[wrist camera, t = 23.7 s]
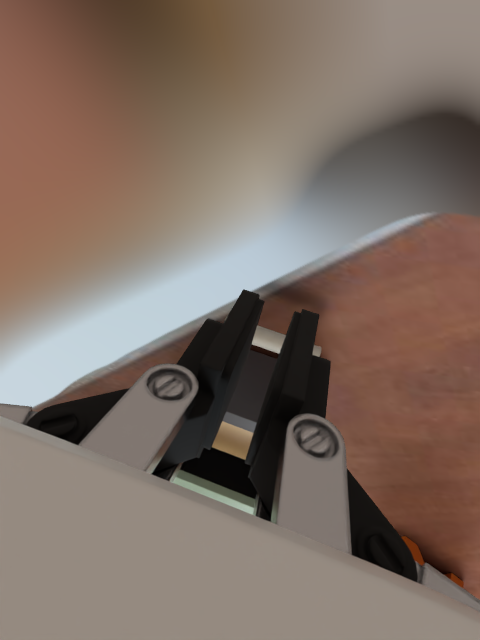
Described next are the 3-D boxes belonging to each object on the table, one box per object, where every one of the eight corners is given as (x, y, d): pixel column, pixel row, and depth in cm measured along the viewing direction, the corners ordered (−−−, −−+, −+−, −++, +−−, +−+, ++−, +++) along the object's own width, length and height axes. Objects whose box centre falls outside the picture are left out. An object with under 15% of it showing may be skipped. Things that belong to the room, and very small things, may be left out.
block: (232, 376, 34) (217, 412, 30) (280, 393, 33) (270, 431, 29) (223, 409, 36) (208, 445, 32) (267, 425, 36) (256, 464, 32)
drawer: (218, 278, 30) (181, 328, 24) (353, 323, 29) (352, 388, 22) (186, 433, 41) (155, 494, 35) (281, 469, 40) (267, 540, 34)
